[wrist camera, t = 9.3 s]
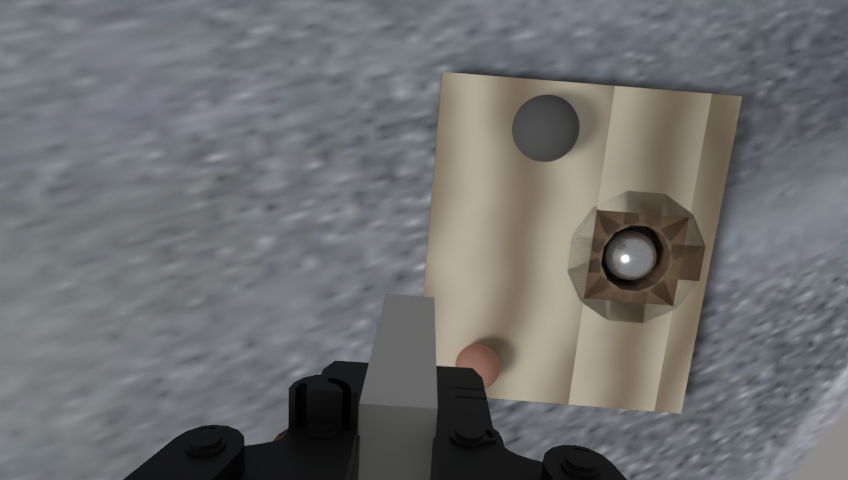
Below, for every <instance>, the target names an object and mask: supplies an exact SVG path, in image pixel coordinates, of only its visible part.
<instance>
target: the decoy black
mask: <svg viewBox="0 0 848 480" xmlns="http://www.w3.org/2000/svg"><path fill="white" fill-rule="evenodd" d="M579 130H580V123H579V118H578V115H577V113H576V111H575V109H574V108H573V107H572V105H571V104H570V103H569V102H567V101H566V100H565V99H563V98H561V97H558V96H555V95H540V96H536V97H534V98H532V99H530V100H528V101H527V102H525V103H524V104H523V105H522V106H521V107H520V108H519V110H518V111H517V113H516V115H515V117H514V120H513V124H512V135H513V139H514V142H515V144H516V146H517V148H518V149H519V150H520V152H521V153H522V154H524V155H525V156H526V157H528V158H530V159H532V160H535V161H539V162H550V161H554V160H557V159H560V158H561V157H563V156H565V155H566V154H567V153H568V152H569V151H570V150H571V149H572V148H573V146H574V145H575V143H576V141H577V139H578V136H579Z"/></svg>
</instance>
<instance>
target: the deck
mask: <svg viewBox="0 0 848 480" xmlns="http://www.w3.org/2000/svg"><path fill="white" fill-rule="evenodd" d="M540 95H555V96H558V97H561V98H563V99H565V100H566V101H567V102H569V103H570V104H571V105H572V107H573V108H574V109H575V111H576V113H577V115H578V118H579V123H580V130H579V136H578V139H577V141H576V143H575V145H574V146H573V148H572V149H571V150H570V151H569V152H568V153H567V154H566V155H565V156H563V157H561V158H560V159H557V160H554V161H550V162H539V161H535V160H532V159H530V158H528V157H526V156H525V155H524V154H522V153H521V152H520V150H519V149H518V148H517V146H516V144H515V142H514V139H513V135H512V124H513V120H514V117H515V115H516V113H517V111H518V110H519V108H520V107H521V106H522V105H523V104H524V103H525V102H527V101H528V100H530V99H532V98H534V97H536V96H540ZM741 101H742V96H734V95H722V94H709V93H697V92H685V91H672V90H660V89H648V88H635V87H623V86H611V85H598V84H586V83H574V82H561V81H549V80H536V79H524V78H512V77H499V76H487V75H475V74H462V73H450V72H442V78H441V90H440V102H439V114H438V126H437V139H436V151H435V163H434V175H433V187H432V199H431V211H430V223H429V235H428V247H427V260H426V272H425V284H424V296H423V297H434V300H435V334H436V366H449V367H455V363H456V359H457V357H458V355H459V353H460V352H461V351H462V350H463V349H464V348H465V347H467V346H469V345H473V344H482V345H485V346H487V347H489V348H490V349H492V350H493V351H494V352H495V354H496V355H497V357H498V359H499V363H500V371H499V375H498V377H497V379H496V381H495V382H494V383H493V384H492V385H491V386H489V387H487V388H485V392H486V397H487V398H496V399H508V400H521V401H533V402H545V403H558V404H570V405H582V406H595V407H607V408H619V409H632V410H644V411H656V412H669V413H681V412H682V406H683V401H684V396H685V391H686V386H687V381H688V375H689V370H690V365H691V360H692V355H693V349H694V344H695V339H696V334H697V329H698V324H699V318H700V313H701V308H702V303H703V298H704V293H705V287H706V282H707V277H708V272H709V267H710V262H711V256H712V251H713V246H714V241H715V236H716V231H717V225H718V220H719V215H720V210H721V205H722V199H723V194H724V189H725V184H726V179H727V174H728V168H729V163H730V158H731V153H732V148H733V143H734V137H735V132H736V127H737V122H738V117H739V112H740V106H741ZM631 225H637V226H645V227H647V228H648V229H650V231H651V234H652V236H653V239H654V241H655V244H656V246H655V249H656V253H657V258H656V263H655V265H654V267H653V269H652V270H651V271H650V272H649V273H648V274H647V275H646V276H644V277H642V278H640V279H636V280H628V281H619V280H610V279H608V278H607V277H606V275H605V273H604V270H603V268H602V266H601V262H602V255H603V249H604V246H605V245H606V244H607V242H608V241H609V240H610V239H611V237H612V236H613V235H614V233H615V232H618V231H620V230H622V229H624V228H627V227H629V226H631Z"/></svg>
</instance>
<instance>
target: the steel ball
mask: <svg viewBox="0 0 848 480" xmlns="http://www.w3.org/2000/svg"><path fill="white" fill-rule="evenodd" d="M656 258H657V253H656V249H655V246H654V244H653V242H652V241H651V240H650V239H649V238H648V237H647V236H646V235H644V234H642V233H640V232H637V231H623V232H620V233H618V234H616V235H614V236H613V237H612V238H611V239H610V240H609V241H608V242H607V244H606V246H605V249H604V261H605V264H606V266H607V268H608V269H609V271H610V272H611V273H612V274H614V275H615V276H617V277H619V278H621V279H625V280H636V279H640V278H642V277H644V276H646V275H647V274H648V273H649V272H650V271H651V270H652V269H653V267H654V265H655V263H656Z"/></svg>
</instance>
